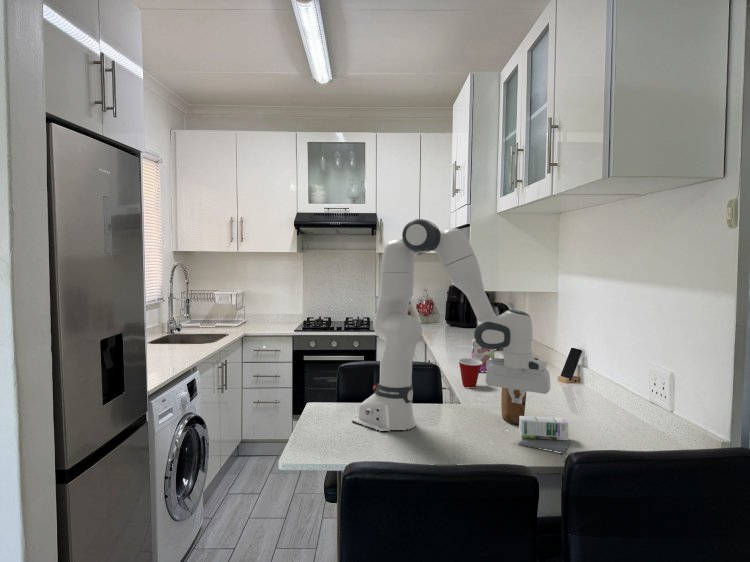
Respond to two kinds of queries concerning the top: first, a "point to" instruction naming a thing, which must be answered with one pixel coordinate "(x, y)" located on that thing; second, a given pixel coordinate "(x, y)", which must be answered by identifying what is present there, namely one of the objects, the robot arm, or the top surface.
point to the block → (512, 406)
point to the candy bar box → (481, 354)
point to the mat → (546, 444)
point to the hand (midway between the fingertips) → (516, 402)
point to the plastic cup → (469, 371)
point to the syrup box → (543, 428)
